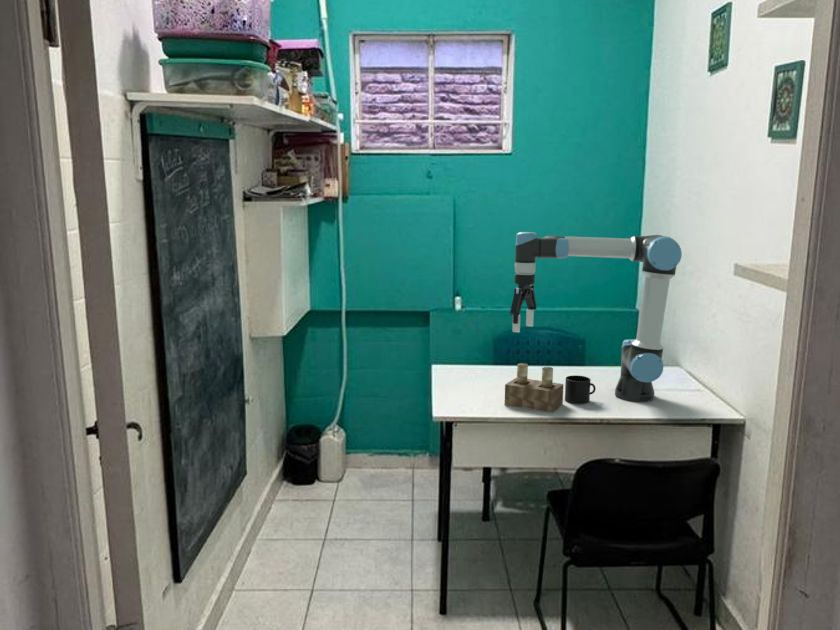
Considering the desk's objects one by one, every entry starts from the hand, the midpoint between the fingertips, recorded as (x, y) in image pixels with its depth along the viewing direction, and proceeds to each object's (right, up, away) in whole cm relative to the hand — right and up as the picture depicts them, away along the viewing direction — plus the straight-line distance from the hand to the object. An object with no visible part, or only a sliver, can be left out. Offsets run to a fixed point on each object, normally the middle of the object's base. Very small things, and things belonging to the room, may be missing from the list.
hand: (523, 329), depth 264 cm
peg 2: (+9, -22, -2) cm, 24 cm away
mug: (+23, -28, +7) cm, 37 cm away
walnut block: (+4, -29, +2) cm, 29 cm away
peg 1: (0, -22, +3) cm, 22 cm away
